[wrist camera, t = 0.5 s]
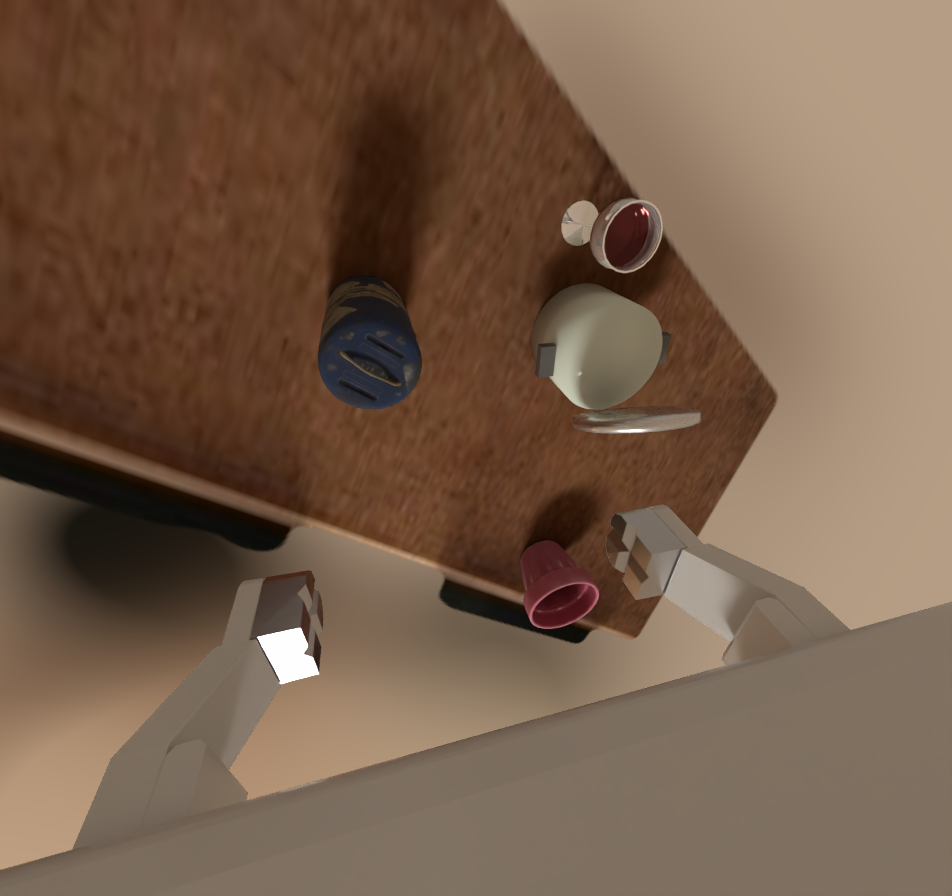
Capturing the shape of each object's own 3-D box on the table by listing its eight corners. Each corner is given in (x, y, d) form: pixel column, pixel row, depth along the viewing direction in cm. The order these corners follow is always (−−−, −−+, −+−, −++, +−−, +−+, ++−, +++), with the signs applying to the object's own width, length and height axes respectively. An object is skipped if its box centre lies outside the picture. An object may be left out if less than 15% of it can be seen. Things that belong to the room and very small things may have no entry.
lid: (611, 428, 40) (612, 450, 40) (731, 411, 43) (731, 431, 43) (554, 416, 53) (555, 432, 54) (648, 404, 56) (649, 419, 57)
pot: (520, 287, 53) (550, 308, 45) (643, 279, 57) (690, 298, 49) (515, 384, 61) (539, 417, 53) (622, 372, 65) (660, 401, 57)
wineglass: (543, 230, 50) (588, 245, 40) (581, 178, 48) (638, 181, 38) (578, 264, 53) (627, 286, 44) (615, 217, 51) (675, 230, 42)
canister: (365, 254, 47) (370, 295, 32) (421, 315, 52) (446, 373, 38) (309, 311, 49) (290, 372, 34) (368, 364, 54) (373, 437, 40)
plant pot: (557, 576, 92) (582, 627, 82) (500, 578, 88) (519, 632, 77) (581, 531, 85) (612, 581, 75) (521, 530, 80) (545, 583, 70)
